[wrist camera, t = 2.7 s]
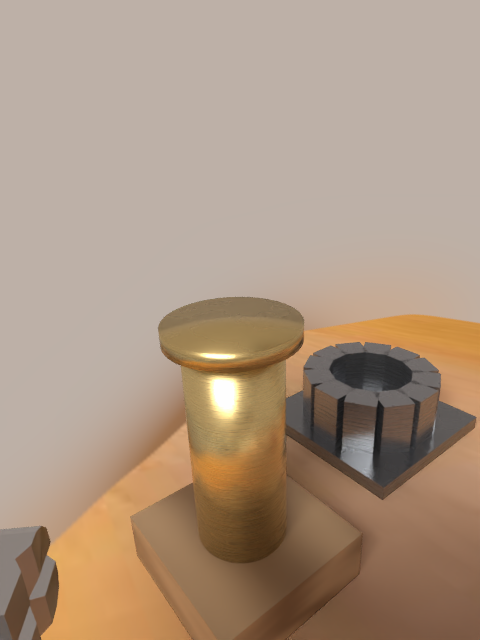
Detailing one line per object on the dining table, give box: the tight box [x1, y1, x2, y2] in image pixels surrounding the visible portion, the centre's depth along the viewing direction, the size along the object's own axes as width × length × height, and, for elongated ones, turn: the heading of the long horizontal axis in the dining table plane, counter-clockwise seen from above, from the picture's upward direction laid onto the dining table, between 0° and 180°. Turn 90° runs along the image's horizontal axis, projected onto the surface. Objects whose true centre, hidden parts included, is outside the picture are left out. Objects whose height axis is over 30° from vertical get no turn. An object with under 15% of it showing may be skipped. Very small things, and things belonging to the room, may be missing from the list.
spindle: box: [158, 297, 304, 564], centre depth 22 cm, size 6×6×12 cm
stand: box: [130, 474, 362, 640], centre depth 25 cm, size 9×9×3 cm
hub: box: [286, 342, 477, 500], centre depth 36 cm, size 12×12×5 cm
